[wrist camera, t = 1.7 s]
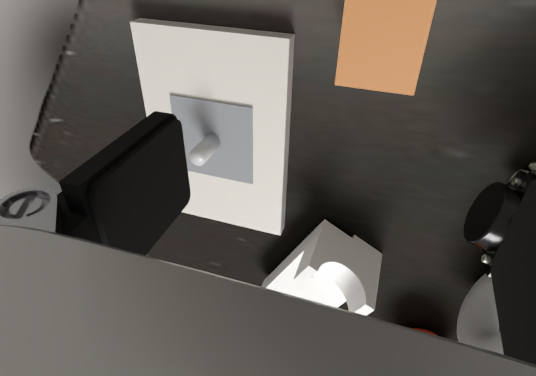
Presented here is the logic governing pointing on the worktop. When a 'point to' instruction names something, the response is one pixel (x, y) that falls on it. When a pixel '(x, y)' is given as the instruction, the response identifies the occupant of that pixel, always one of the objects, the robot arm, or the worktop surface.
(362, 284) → the bracket
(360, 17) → the block
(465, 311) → the donut
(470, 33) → the worktop surface
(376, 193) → the worktop surface
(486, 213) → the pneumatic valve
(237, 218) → the plate
